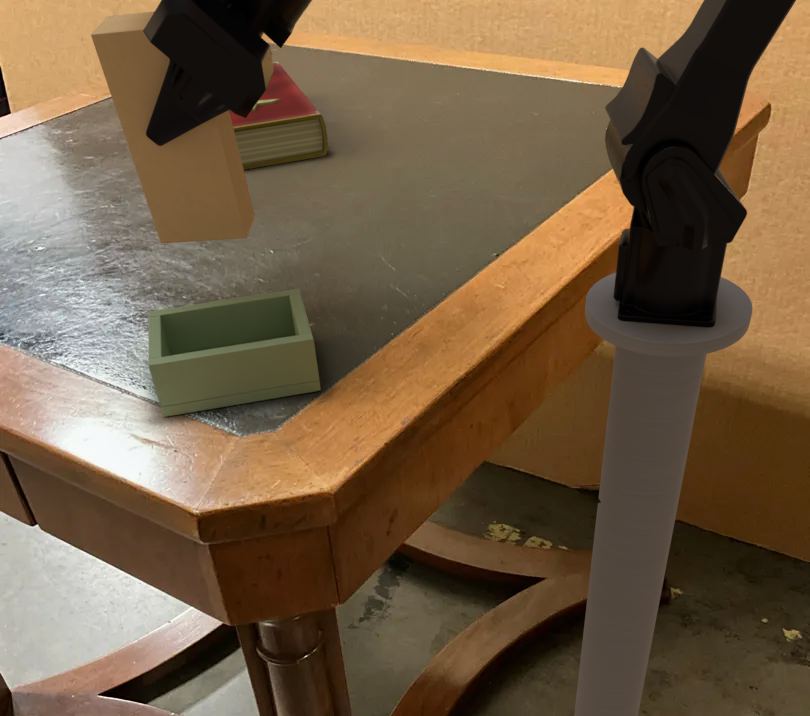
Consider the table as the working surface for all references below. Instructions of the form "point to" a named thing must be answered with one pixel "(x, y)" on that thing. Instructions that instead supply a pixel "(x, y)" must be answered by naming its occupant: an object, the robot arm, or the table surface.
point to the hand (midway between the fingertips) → (159, 130)
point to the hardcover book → (280, 126)
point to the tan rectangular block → (173, 144)
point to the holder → (231, 352)
